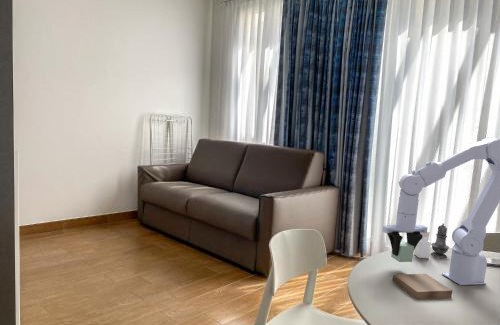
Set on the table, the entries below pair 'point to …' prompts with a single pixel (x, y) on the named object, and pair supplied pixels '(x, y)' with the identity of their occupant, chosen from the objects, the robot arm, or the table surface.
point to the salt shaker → (440, 243)
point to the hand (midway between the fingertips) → (402, 254)
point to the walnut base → (422, 286)
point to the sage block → (404, 252)
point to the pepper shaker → (423, 246)
